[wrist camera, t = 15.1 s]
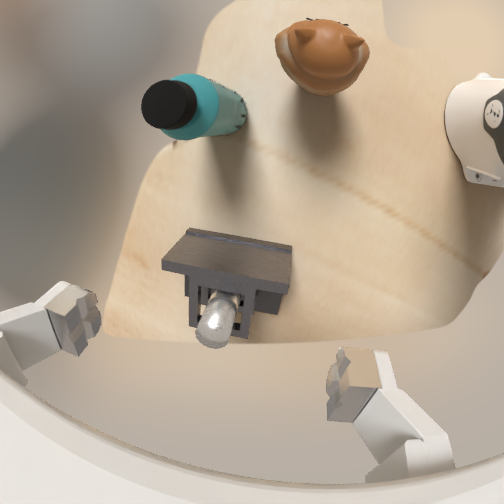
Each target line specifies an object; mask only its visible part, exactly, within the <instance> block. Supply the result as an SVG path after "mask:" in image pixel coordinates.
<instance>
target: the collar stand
mask: <svg viewBox="0 0 504 504" xmlns="http://www.w3.org/2000/svg"><path fill="white" fill-rule="evenodd" d="M291 251H292V246H290V245H284V244H279V243H273V242H268V241H262V240H257V239H251V238H245V237H240V236H234V235H228V234H223V233H217V232H211V231H205V230H200V229H194V228H189V229H188V230H187V231H186V234H185V235H184V236H183V237H182V238H181V239H180V240H179V241H178V242H177V243H176V244H175V245H174V246H173V247H172V248H171V250H170V251H169V252H168V253H167V254H166V255H165V256H164V257H163V258H162V259H161V260H162V270H165V271H170V272H174V273H179V274H184V275H185V296H187V297H189V326H191V327H195V328H197V326H198V324H199V322H200V320H201V317H202V315H200V308H201V304H202V305H207V304H208V301H209V299H210V297H211V293H212V291H213V289H216V290H221V291H226V292H231V293H236V294H241V295H242V296H241V301H240V305H239V306H238V310H237V312H240V313H242V319H241V324H239V323H234V324H233V327H232V331H231V334H230V335H231V336H236V337H240V338H245V339H248V335H249V330H250V324H251V318H252V315H253V314H254V311H260V312H265V313H270V314H276V315H277V314H278V310H279V305H280V301H281V296H282V294H286V295H287V292H288V288H289V282H290V265H291Z"/></svg>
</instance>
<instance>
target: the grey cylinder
mask: <svg viewBox="0 0 504 504" xmlns="http://www.w3.org/2000/svg"><path fill="white" fill-rule="evenodd" d="M241 296H242V295H241V294H236V293H231V292H226V291H221V290H216V289H213V291H212V293H211V297H210V299H209V301H208V304H207V306H206V308H205V310H204V313H203V315H202V317H201V320H200V322H199V324H198V326H197V329H196V332H195V333H196V337H197V339H198V340H199V342H200V343H202V344H203V345H205V346H207V347H210V348H222V347H224V346H225V345H227V343H228V341H229V338H230V334H231V331H232V327H233V324H234V320H235V317H236V313H237V310H238V306H239V305H240V301H241Z"/></svg>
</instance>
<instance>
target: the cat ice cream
mask: <svg viewBox="0 0 504 504" xmlns="http://www.w3.org/2000/svg"><path fill="white" fill-rule="evenodd" d="M306 19H307V20H311V21H300V22H297V23H294V24H293V25H291V26H290V27H288V28H286V29H284V30H283V31H282V32H280V33H279V34H278V35H277V36H276V38H275V48H276V53H277V56H278V58H279V59H280V62H281V65H282V67H283V69H284V71H285V72H286V73H287V75H288V76H289V77H290V78H291V79H292V80H293V81H294V82H295V83H297V84H298V85H299V86H300V87H302V88H304V89H305V90H307V91H309V92H311V93H314V94H317V95H323V96H329V95H333V94H336V93H339V92H341V91H343V90H345V89H347V88H348V87H349V86H351V85H352V84H353V83H354V82H355V81H356V80H357V78H358V76H359V74H360V73H361V71H362V70H363V68H364V66H365V64H366V63H367V61H368V58H369V54H370V52H369V47H368V45H367V44H366V43H365V42H364V41H365V40H364V39H363V38H361V37H358V36H357V35H356V34H355V33H354V32H353V31H352V30H351V29H349V28H348V27H346V26H349V25H348V24H341V23H340V22H335V21H331V20H325V19H316V20H312V19H309V18H306ZM345 25H346V26H345Z"/></svg>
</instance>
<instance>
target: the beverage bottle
mask: <svg viewBox="0 0 504 504" xmlns="http://www.w3.org/2000/svg"><path fill="white" fill-rule="evenodd" d="M210 80H211V79H210ZM210 80H208V79H206V78H205V77H202V76H200V75H197V74H182V75H179V76H176V77H174V78H172V79H170V80H162V81H159V82H157V83H155V84H153V85H152V86H151V87H150V88H149V89H148V90H147V91H146V93H145V94H144V97H143V99H142V104H141V109H142V114H143V117H144V119H145V120H146V122H147V123H148V124H150V125H151V126H153V127H155V128H159V129H161V130H162V131H163V132H164V133H165V134H166V135H168V136H169V137H171V138H174V139H178V140H191V139H195V138H198V137H205V136H215V135H219V136H220V135H225V134H226V135H227V134H230V133H233V132H235V131H236V130H238V129H239V128H240V127H241V126H242V125H243V123H244V121H245V120H246V119H247V118H246V117H247V114H248V113H247V110H248V109H246V107H247V106H246V105H245V102H244V100H243V99H242V98H241V97H240V96H239V95H238V93H236V92H235V91H234V92H233V91H231V89H230V88H229V89H230V90H229V89H228V88H225V87H223V86H221V84H220V85H219V83H218V84H216V83H215V82H216V81H215V82H212V81H210ZM216 137H217V136H216Z"/></svg>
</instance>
